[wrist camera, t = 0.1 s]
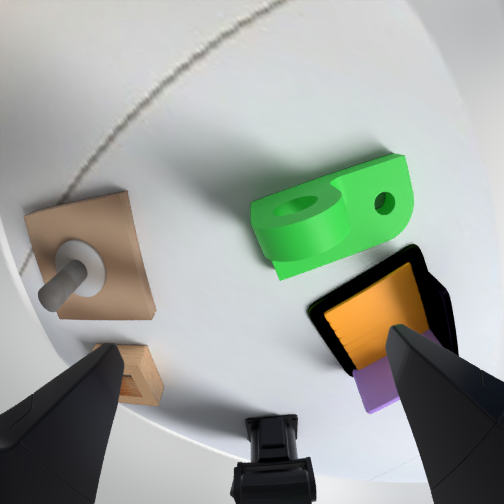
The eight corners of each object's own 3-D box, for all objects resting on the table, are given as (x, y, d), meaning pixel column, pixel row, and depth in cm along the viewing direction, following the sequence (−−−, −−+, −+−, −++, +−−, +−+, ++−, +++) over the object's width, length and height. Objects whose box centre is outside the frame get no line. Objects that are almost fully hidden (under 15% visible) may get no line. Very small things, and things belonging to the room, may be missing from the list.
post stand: (156, 310, 25) (132, 362, 19) (66, 311, 25) (33, 352, 19) (127, 190, 21) (81, 216, 14) (33, 211, 21) (-16, 237, 15)
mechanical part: (277, 269, 24) (288, 330, 16) (250, 201, 22) (250, 239, 14) (407, 220, 22) (461, 259, 15) (392, 153, 20) (453, 167, 12)
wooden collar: (164, 386, 29) (158, 406, 27) (116, 383, 30) (109, 400, 27) (147, 345, 27) (138, 365, 24) (96, 343, 27) (85, 361, 24)
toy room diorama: (439, 323, 27) (469, 361, 20) (349, 376, 29) (365, 423, 23) (415, 237, 23) (459, 272, 16) (302, 306, 25) (316, 359, 19)
